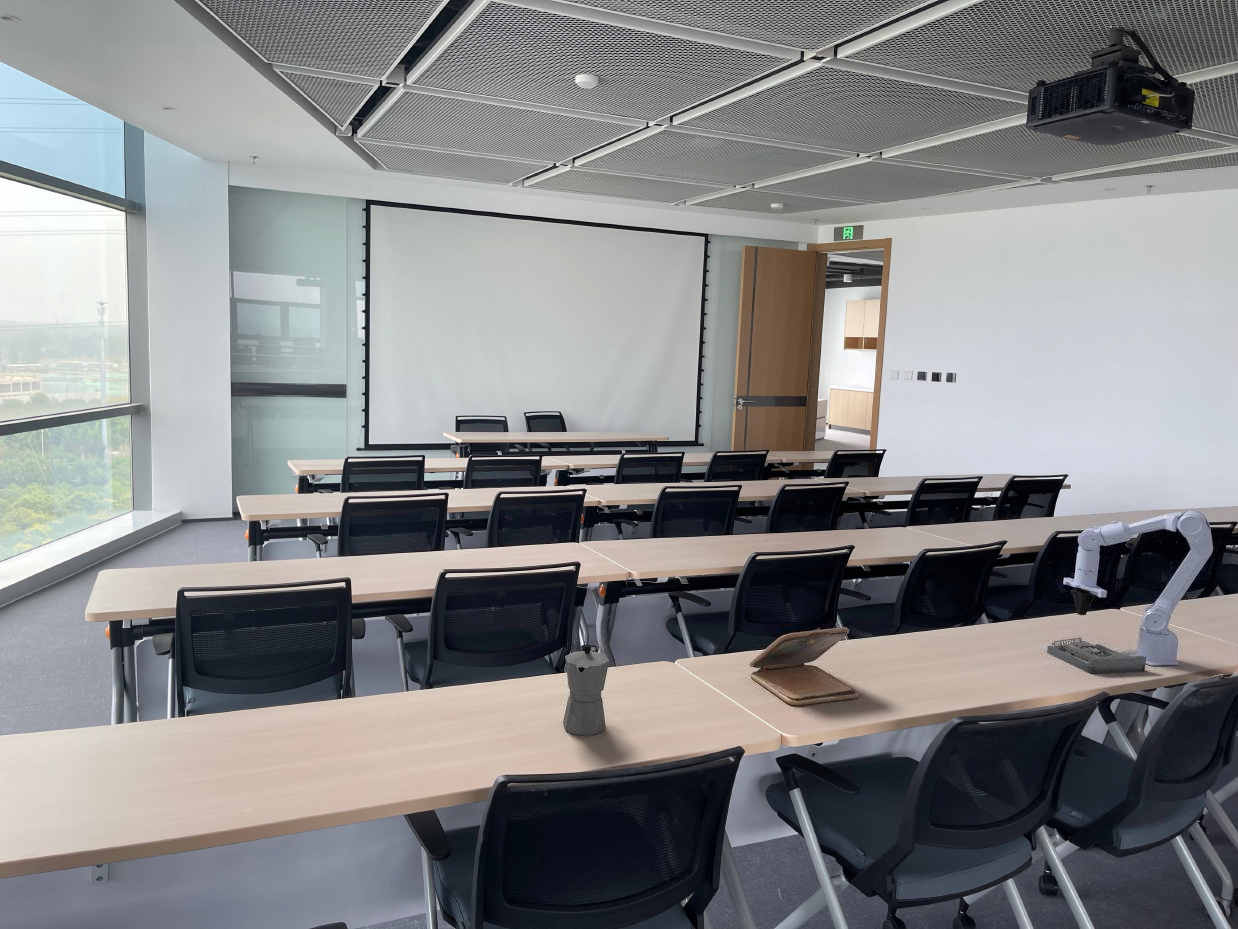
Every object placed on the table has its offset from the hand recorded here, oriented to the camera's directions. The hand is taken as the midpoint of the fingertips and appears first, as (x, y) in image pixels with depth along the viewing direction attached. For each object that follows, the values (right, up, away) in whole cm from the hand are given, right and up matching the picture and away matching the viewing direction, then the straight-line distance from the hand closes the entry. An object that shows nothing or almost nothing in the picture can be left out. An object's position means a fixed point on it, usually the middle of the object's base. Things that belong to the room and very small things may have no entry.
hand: (1081, 614), depth 244 cm
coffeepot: (-144, -11, -68) cm, 159 cm away
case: (-92, -11, -41) cm, 101 cm away
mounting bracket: (-3, -11, -14) cm, 18 cm away
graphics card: (-3, -11, -10) cm, 15 cm away
